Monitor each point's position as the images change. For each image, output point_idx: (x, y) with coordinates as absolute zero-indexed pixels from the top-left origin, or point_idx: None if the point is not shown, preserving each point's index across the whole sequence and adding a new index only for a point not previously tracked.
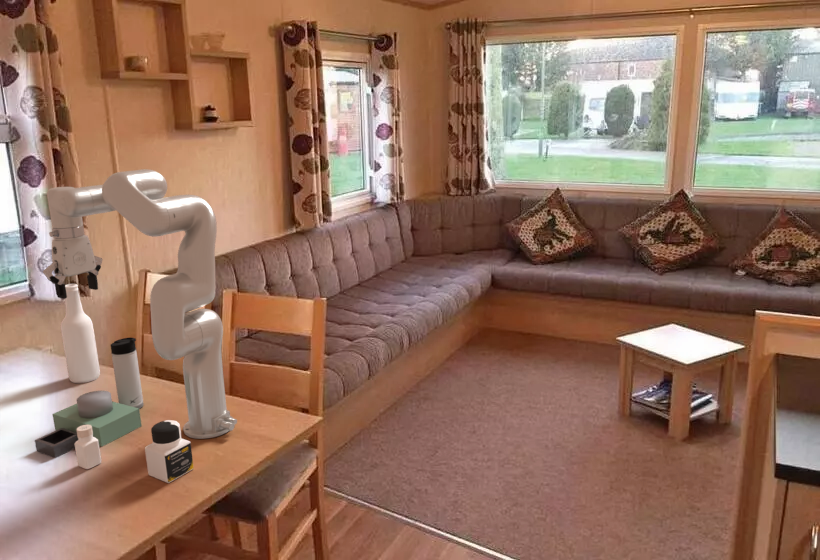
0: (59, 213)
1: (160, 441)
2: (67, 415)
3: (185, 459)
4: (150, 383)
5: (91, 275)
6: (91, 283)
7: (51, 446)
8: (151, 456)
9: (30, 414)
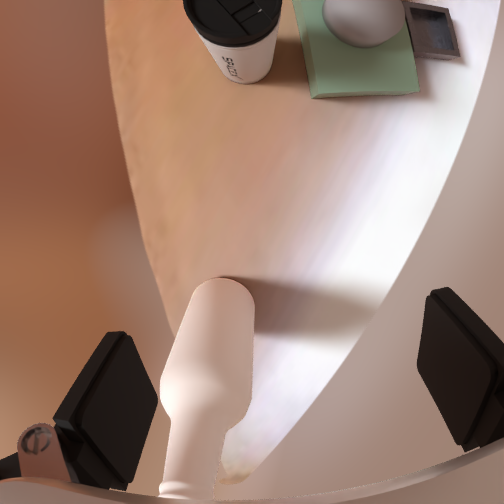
0: None
1: None
2: (404, 55)
3: None
4: (144, 150)
5: (93, 459)
6: (129, 403)
7: (449, 14)
8: None
9: (388, 218)
